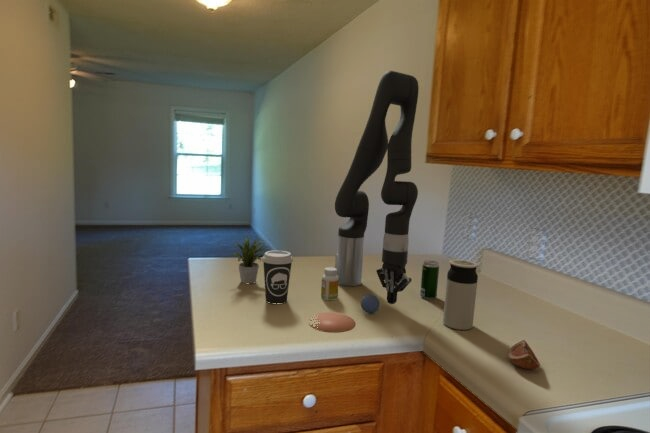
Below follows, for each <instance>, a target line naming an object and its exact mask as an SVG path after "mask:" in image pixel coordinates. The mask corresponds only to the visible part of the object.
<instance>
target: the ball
mask: <svg viewBox="0 0 650 433" xmlns="http://www.w3.org/2000/svg"><path fill="white" fill-rule="evenodd" d="M380 304H381V303H380V299H379V298H378V297H377V296H376V295H374V294H366V295H364V296H363V297H362V298H361V301H360V306H361V309H362V310H363V312H364V313H367V314H370V315H371V314H375V313H376V312H377V311H379V308H380V306H381V305H380Z"/></svg>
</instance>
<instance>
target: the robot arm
mask: <svg viewBox="0 0 650 433" xmlns="http://www.w3.org/2000/svg"><path fill="white" fill-rule="evenodd" d="M419 87H420V86H419V82H418V80H417V77H415V76H413V75H411V74H407V73H403V72H398V71H394V70H387V71H385V72H384V74H383V75H382V76H381V78H380V80H379V82H378V85H377V89H376V92H375V95H374V100H373V103H372V106H371V110H370V113H369V116H368V120H367V121H366V126H365V128H364V130H363V133H362V135H361V138H360V140H359V143H358V145H357V148H356V151H355V154H354V157H353V160H352V162H351V164H350V167H349V169H348V172H347V173H346V176H345V179H344V180H343V182H342V185H341V186H340V188H339V190H338V193H337V195H336V197H335V202H334V211H335V213H336V215H337V216H339V217H341V218H349V220H348V221H347V222H346V223H343V225H340V226H339V228H338V232H337V233H338V235H337V253H336V254H335V258H334V259H335V260H334V261H335V263H334V268H336V269H337V274H336V275H337V276H338V277H339V283H338V285H341V286H345V287H357V286H360V285H361V284H362V279H363V278H362V277H363V276H362V275H363V264H364V263H363V262H364V259H363V258H364V246H365V242H364V241H365V232H366V230H367V225H368V220H369V219H368V218H369V210H370V201H369V197H368V195H367V193H366V192H364V191H362V190H360V187H362V185H363V184H364V183H365V182H366V181H367V180H368V179H369V178H370V177H371V176H372V175H374V173H376V171H377V170H378V169H379V168H380V167H381V165H382V163H383V161H384V159H385V156H387V166H386V172H385V177H384V180H383V181H384V182H383V184H382V188H381V190H380V197H381V198H380V199H381V200H382V202H383V203H384V204H385V205H389V206H401V208H400V209H399V210H397V211H393V212H390V213H387V214H386V215H385V221H384V222H385V223H384V233H383V234H384V235H383V240H382V253H381V254H382V255H381V262H382V265H381V268H379V269H376V275H377V277H378V279H379V281H380V283H381V286H382V288H384V289H386V301H387V304H390V305H395V304H396V303H397V300H398V298H397V297H398V293H399V292H403V291H404V290H405V289H406V287H408V286H409V284H410V283H411V282H412V277H408V275H407V274H406V273H407V270H406V267H407V266H406V265H407V263H408V256H409V240H410V239H409V231H410V230H409V228H410V221H411V220H410V219H411V217H412V213H413V209H414V207H415V205H416V202H417V199H418V194H419V190H418V187H417V185H416V183H414V182H412V181H402V180H398V181H397V180H396V177H397V176H399V175H405V174H408V173H410V172H411V170H412V141H413V140H412V139H413V131H414V126H415V118H416V114H417V113H416V112H417V107H418V99H419V90H420V88H419ZM391 105H396V106H399V107H400V117H399V121H398V123H397V125H396V127H395V129H394V130H393V132H392V134H391V136H390V137H389V136H388V131H387V127H386V118H387V113H388V110H389V109H390V106H391ZM389 138H390V139H389ZM386 153H387V155H386Z"/></svg>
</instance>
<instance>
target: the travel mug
mask: <svg viewBox="0 0 650 433" xmlns="http://www.w3.org/2000/svg"><path fill="white" fill-rule="evenodd" d="M449 266H450V267H449V270H448V271H447V274H446V275H447V277H446V284H445V285H446V287H445V295H444V296H445V298H444V307H443V318H442V323H443V324H444V325H445V326H447V327H448V328H449V329H453V330H458V331H459V330H460V331H467V330H470V329H473V327H474V319H475V318H474V317H475V316H474V315H475V309H476V298H477V296H476V295H477V288H478V287H477V286H478V280H479V279H478V278H479V276H478V273H477V267H478V266H479V263H477V262H475V261H472V260H467V259H459V258H458V259H451V260H449Z"/></svg>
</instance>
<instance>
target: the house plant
mask: <svg viewBox="0 0 650 433" xmlns="http://www.w3.org/2000/svg"><path fill="white" fill-rule="evenodd" d="M258 239H259V237H257V238H256V239H254V241H253V243H251V245H250V240H249V236H248V235H247V236H246V238H245V240H244V242H243V241H238V242H237V241H235V243H236V245H235V247H236V248H237V249H239V248H240V249H239V252H240V253H241V254H240V253H238V252H237V251H233V252H232V253H231V254H233V255H236V256H238V257H237V262H240V261H242V262H240V263H239V264H238V271H239V276H240V277H239V278H240V283H241V282H243V283H253V284H255V283H257V277H258V272H259V267H260V264H259V263H257V262H256V261H257V260H259V261H260V262H262V258H263V256H264V254H265V252H263V253H262V252H261V251H264V250H269V249H271V247H268V248H267V247H265V246H266V243H264V244H261V243H262V242H263V241H264V239H262V240H260V241H258ZM257 241H258V242H257ZM239 242H241V243H242V244H243V246H244V247H243V246H242V245H241V244H240V243H239ZM269 244H271V243H270V242H269V243H267V245H269ZM259 252H260V253H259ZM261 257H262V258H261ZM254 282H255V283H254ZM243 283H242V284H243Z"/></svg>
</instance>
